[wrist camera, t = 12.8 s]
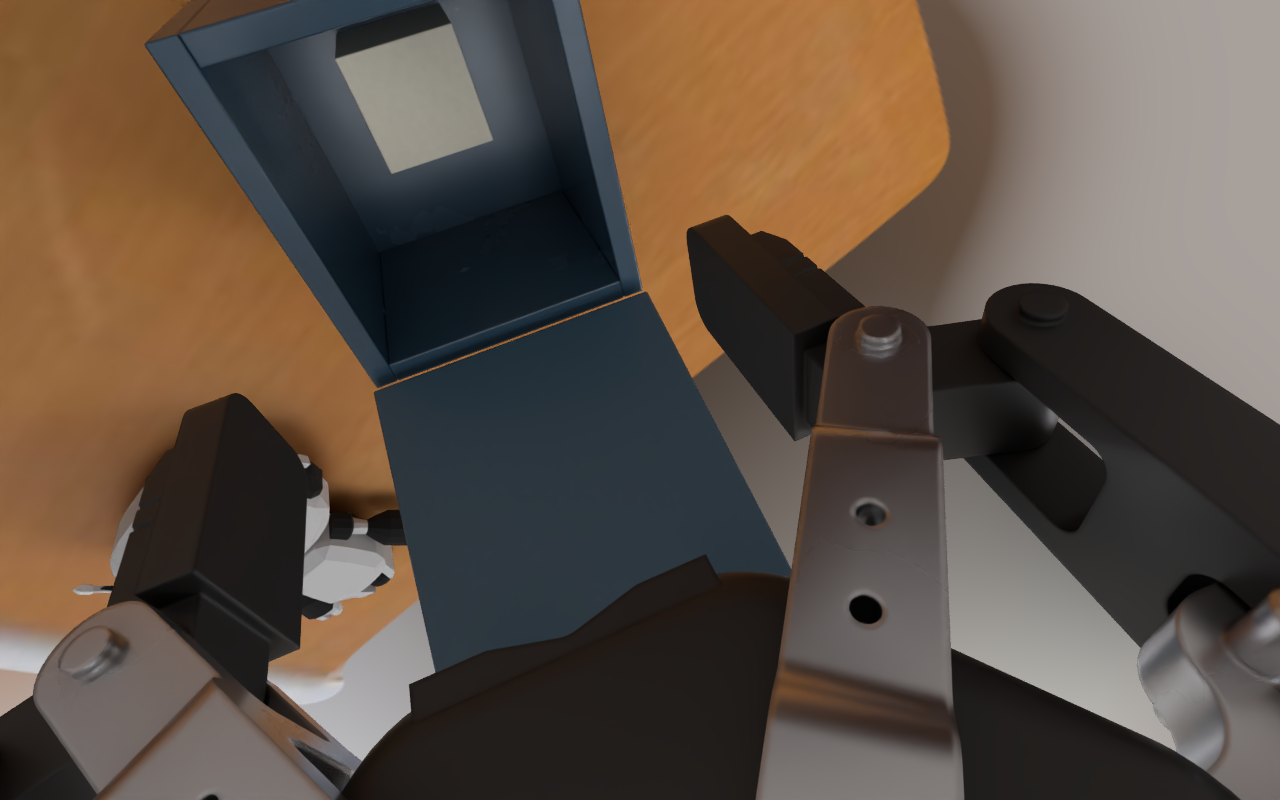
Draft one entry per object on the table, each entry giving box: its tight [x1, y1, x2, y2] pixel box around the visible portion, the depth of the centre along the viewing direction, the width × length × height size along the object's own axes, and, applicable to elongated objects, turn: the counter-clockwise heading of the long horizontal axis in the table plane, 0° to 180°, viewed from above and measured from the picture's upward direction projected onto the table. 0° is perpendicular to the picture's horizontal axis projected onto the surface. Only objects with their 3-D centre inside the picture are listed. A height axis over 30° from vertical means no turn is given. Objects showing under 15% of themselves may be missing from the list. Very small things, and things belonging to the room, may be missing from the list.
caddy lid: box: [374, 292, 792, 673], centre depth 20 cm, size 12×11×1 cm
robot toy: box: [72, 454, 407, 621], centre depth 36 cm, size 12×4×15 cm
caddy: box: [145, 0, 643, 388], centre depth 23 cm, size 12×11×10 cm
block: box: [335, 3, 493, 174], centre depth 23 cm, size 4×4×4 cm
